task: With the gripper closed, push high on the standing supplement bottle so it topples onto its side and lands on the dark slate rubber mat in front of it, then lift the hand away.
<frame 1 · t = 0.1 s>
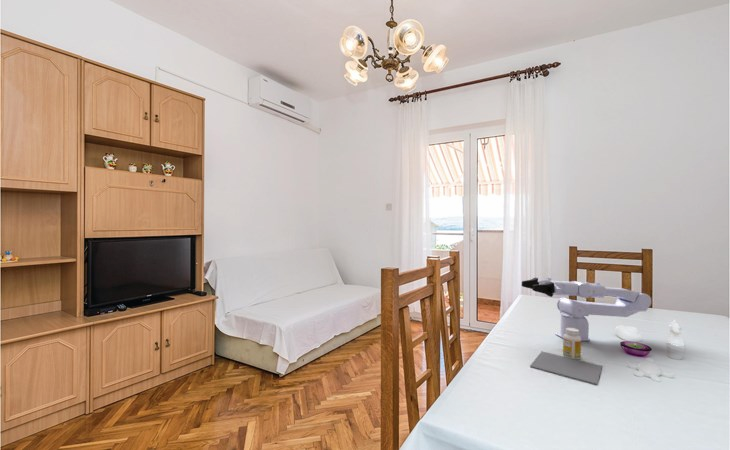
hand: (527, 285, 134), 22 cm above the table, tool horizontal, fingers open, 7 cm apart
supplement bottle: (571, 357, 117), on the table
slate mat: (566, 366, 109), on the table
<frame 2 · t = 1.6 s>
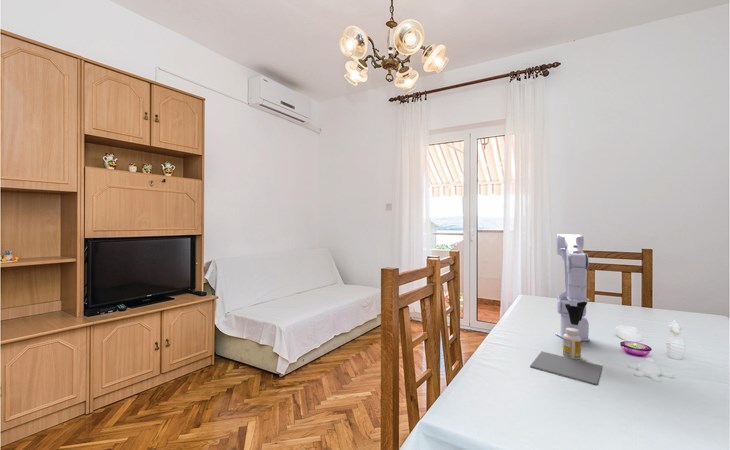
hand: (576, 322, 123), 10 cm above the table, tool pointing down, fingers open, 7 cm apart
nothing on the table moved.
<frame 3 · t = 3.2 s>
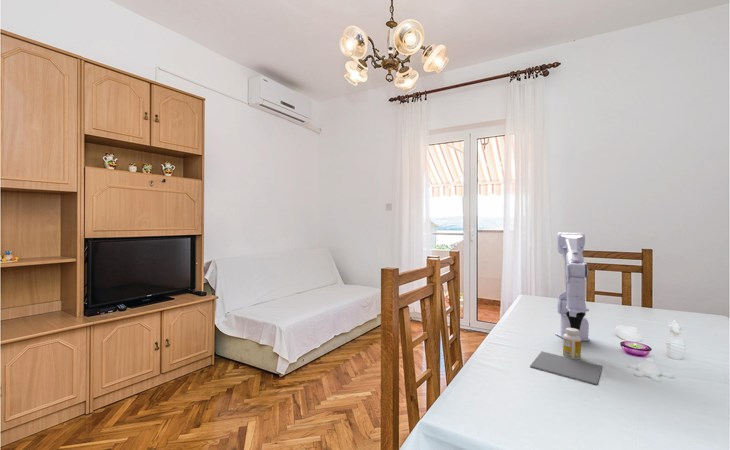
hand: (575, 332, 123), 7 cm above the table, tool pointing down, fingers closed
nothing on the table moved.
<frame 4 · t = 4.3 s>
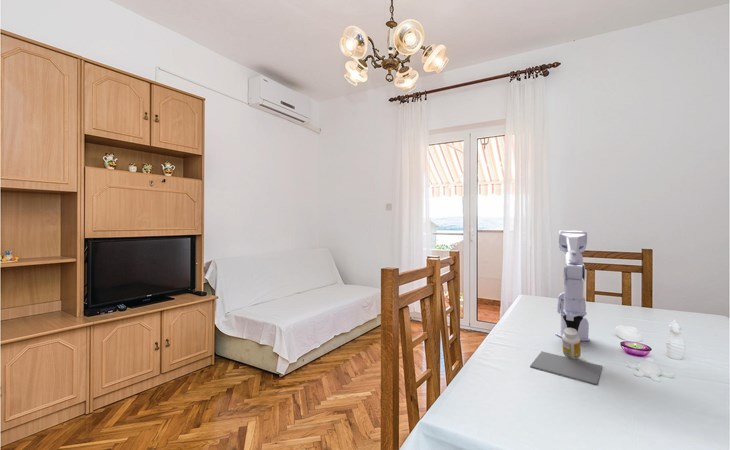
hand: (572, 336, 118), 7 cm above the table, tool pointing down, fingers closed
supplement bottle: (571, 354, 117), point 1 cm above the table, touching gripper
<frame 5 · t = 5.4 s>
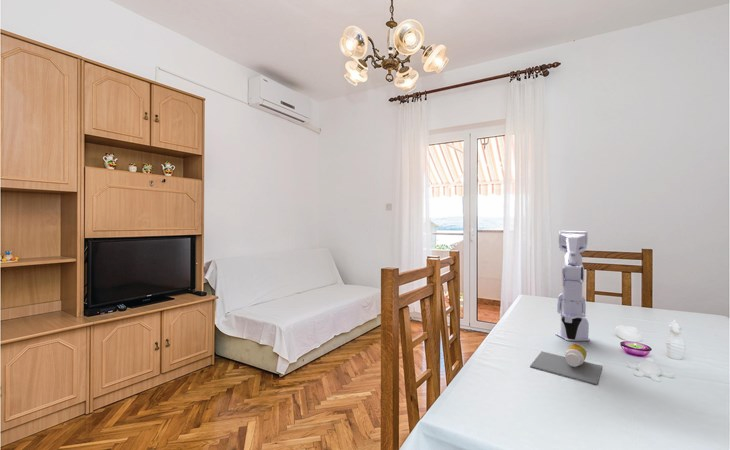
hand: (571, 338, 116), 7 cm above the table, tool pointing down, fingers closed
supplement bottle: (577, 351, 114), point 3 cm above the table, touching slate mat
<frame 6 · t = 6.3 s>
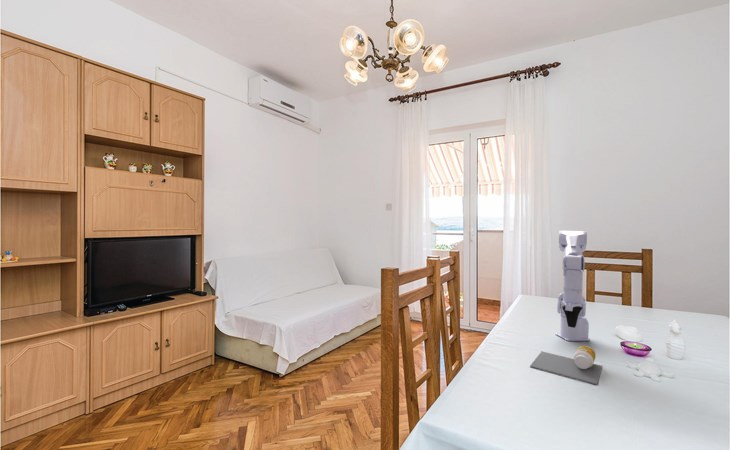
hand: (571, 326, 118), 10 cm above the table, tool pointing down, fingers closed
supplement bottle: (586, 353, 113), point 3 cm above the table, touching slate mat
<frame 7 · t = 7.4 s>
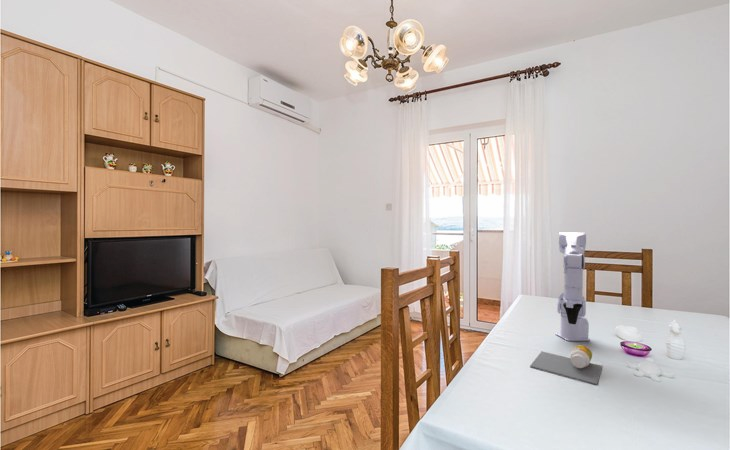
hand: (572, 323, 121), 10 cm above the table, tool pointing down, fingers closed
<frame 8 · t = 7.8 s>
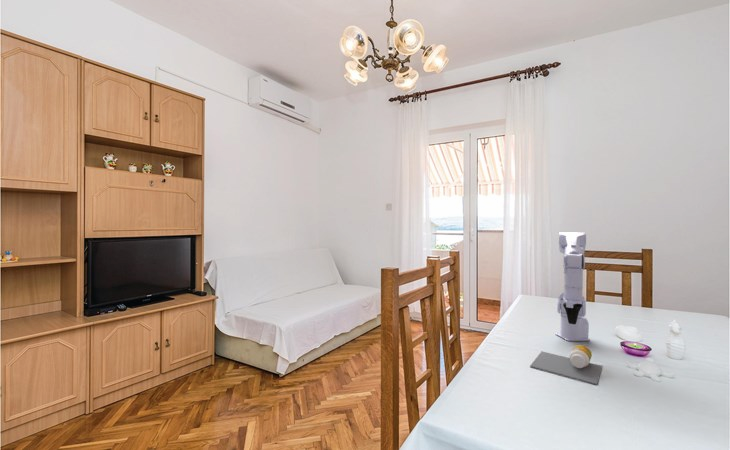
hand: (572, 323, 121), 10 cm above the table, tool pointing down, fingers closed
at the end: supplement bottle tilted 90°; supplement bottle touching slate mat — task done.
